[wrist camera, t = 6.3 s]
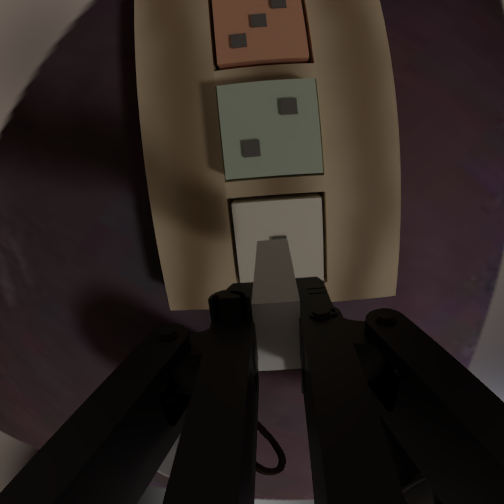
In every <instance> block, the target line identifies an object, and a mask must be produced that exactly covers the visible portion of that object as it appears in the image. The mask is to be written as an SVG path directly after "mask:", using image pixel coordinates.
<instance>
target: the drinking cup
mask: <svg viewBox="0 0 504 504" xmlns="http://www.w3.org/2000/svg"><path fill="white" fill-rule="evenodd" d="M378 414H379V413H378ZM379 417H380V420H381V423H382V426H383V429H384V433H385V436H386V439H387V442H388V445H389V448H390V451H391V455H392V458H393V461H394V464H395V468H396V471H397V474H398V478H399V481H400V485H401V488H402V492H403V495H404V498H405V500H406V502H407V503H408V504H443V503H442V502H441V500H440V499H439V497H438V496H437V494H436V493H435V492H434V490H433V489H432V487H431V486H430V485H429V483H428V482H427V480H426V479H425V477H424V476H423V475H422V473H421V472H420V470H419V469H418V467H417V466H416V465H415V463H414V462H413V460H412V459H411V458H410V456H409V455H408V453H407V452H406V451H405V449H404V448H403V446H402V445H401V443H400V442H399V441H398V439H397V438H396V436H395V435H394V434H393V432H392V431H391V429H390V428H389V427H388V425H387V424H386V422H385V421H384V420H383V418H382V417H381V415H380V414H379Z"/></svg>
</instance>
